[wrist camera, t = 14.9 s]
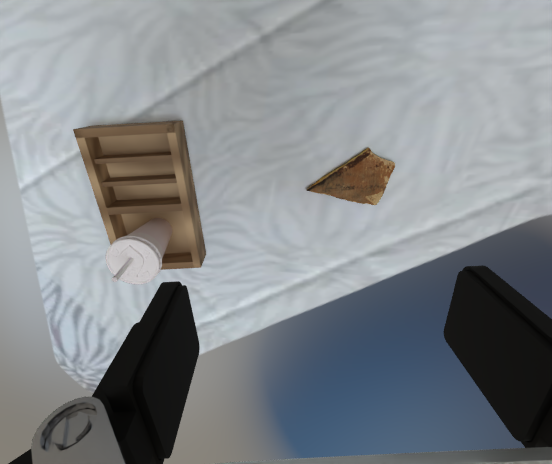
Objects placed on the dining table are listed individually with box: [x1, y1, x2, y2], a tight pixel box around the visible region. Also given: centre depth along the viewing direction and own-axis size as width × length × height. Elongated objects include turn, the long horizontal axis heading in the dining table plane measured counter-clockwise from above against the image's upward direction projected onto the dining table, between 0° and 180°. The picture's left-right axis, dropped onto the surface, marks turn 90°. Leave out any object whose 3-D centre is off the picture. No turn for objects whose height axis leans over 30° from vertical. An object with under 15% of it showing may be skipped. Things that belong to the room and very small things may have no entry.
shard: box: [307, 148, 395, 205], centre depth 42 cm, size 11×8×2 cm
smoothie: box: [106, 218, 172, 284], centre depth 38 cm, size 6×6×14 cm
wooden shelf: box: [73, 121, 206, 270], centre depth 41 cm, size 20×12×4 cm, turn 3°
